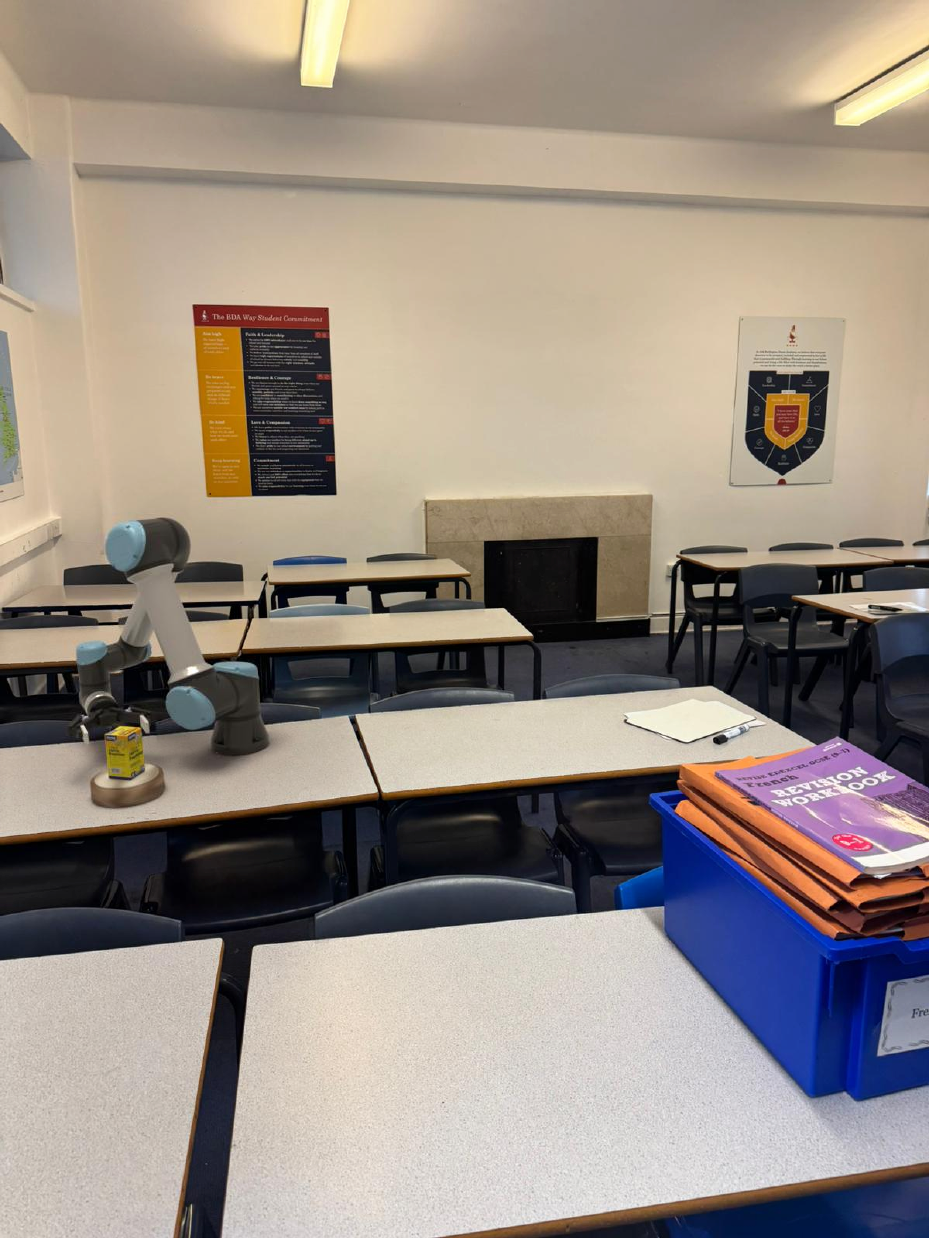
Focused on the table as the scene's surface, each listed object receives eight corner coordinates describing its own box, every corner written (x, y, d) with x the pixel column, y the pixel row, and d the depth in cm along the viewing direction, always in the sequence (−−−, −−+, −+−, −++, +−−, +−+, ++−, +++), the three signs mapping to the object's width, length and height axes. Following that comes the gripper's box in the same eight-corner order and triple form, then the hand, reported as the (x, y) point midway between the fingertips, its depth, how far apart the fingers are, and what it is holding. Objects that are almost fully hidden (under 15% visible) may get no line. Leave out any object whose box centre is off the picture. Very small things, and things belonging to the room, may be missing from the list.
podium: (169, 776, 200) (167, 759, 199) (159, 804, 185) (157, 785, 184) (100, 782, 197) (98, 764, 196) (84, 810, 181) (82, 792, 180)
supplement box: (131, 780, 186) (126, 736, 184) (108, 778, 187) (103, 734, 185) (146, 770, 192) (142, 727, 190) (123, 769, 193) (119, 725, 191)
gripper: (153, 714, 219) (172, 737, 201) (51, 731, 206) (61, 758, 188) (151, 687, 217) (170, 709, 200) (47, 703, 204) (58, 728, 187)
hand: (117, 733), depth 194 cm, fingers open, 13 cm apart
